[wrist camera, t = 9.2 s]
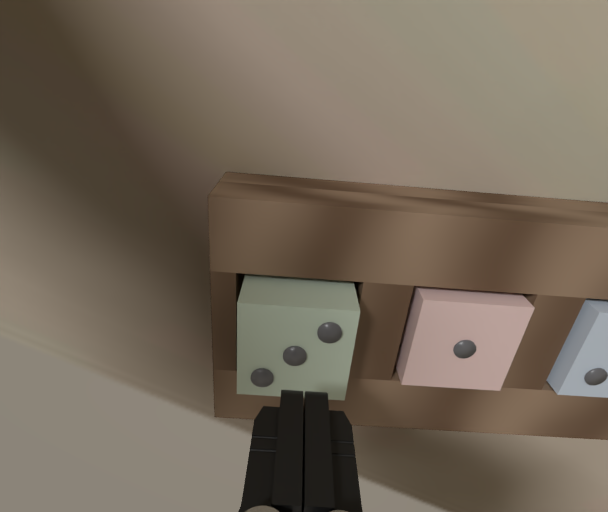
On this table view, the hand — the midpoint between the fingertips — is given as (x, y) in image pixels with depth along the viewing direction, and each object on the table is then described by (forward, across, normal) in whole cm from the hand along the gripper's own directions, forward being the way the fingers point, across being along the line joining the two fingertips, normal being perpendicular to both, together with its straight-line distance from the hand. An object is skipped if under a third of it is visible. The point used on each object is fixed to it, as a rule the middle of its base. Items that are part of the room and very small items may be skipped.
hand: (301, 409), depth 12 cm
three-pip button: (+5, 0, 0) cm, 5 cm away
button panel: (+8, -7, 0) cm, 10 cm away
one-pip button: (+6, -7, 0) cm, 9 cm away
